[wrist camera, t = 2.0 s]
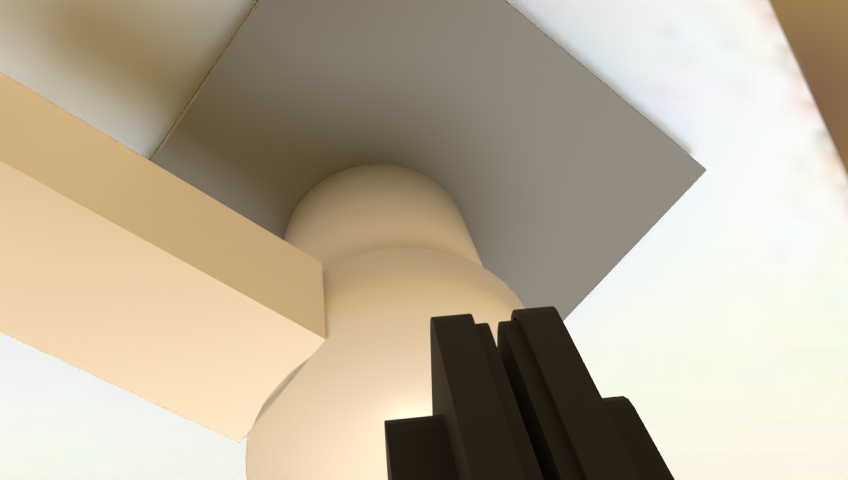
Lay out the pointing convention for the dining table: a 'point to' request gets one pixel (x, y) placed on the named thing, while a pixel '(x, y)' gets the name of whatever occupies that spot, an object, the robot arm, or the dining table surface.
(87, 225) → the cream piece
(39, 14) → the dining table surface
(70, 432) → the dining table surface
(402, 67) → the base
